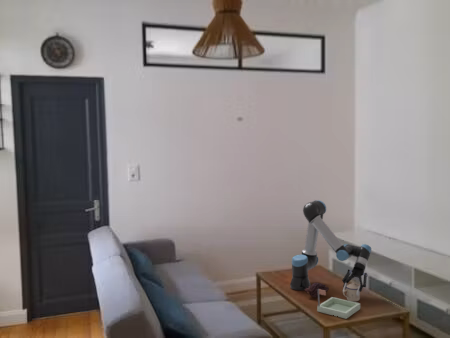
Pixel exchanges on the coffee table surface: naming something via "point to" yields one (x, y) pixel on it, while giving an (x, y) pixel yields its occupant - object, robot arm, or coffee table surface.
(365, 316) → the coffee table surface
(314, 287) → the pine cone
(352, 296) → the teacup with lid
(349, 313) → the mint green square tray
